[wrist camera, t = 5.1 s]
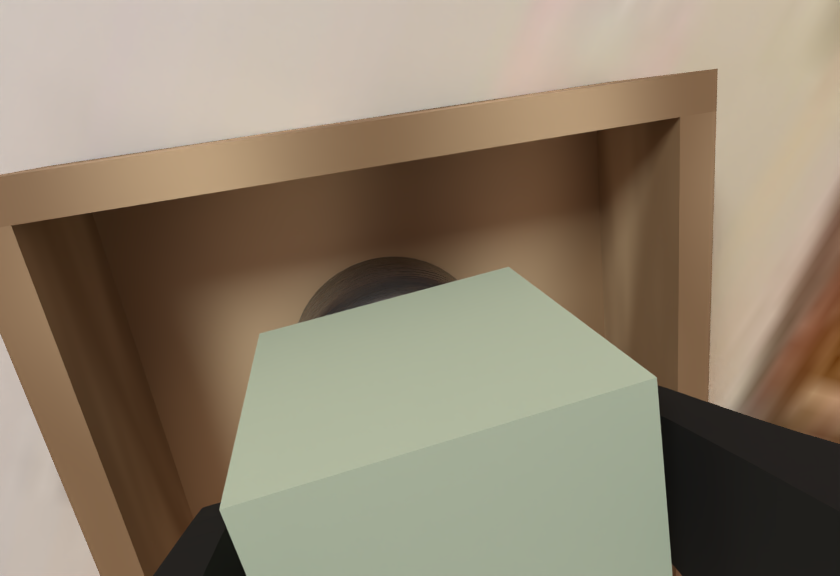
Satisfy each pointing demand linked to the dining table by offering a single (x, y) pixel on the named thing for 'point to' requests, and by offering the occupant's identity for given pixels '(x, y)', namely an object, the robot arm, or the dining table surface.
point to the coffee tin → (373, 284)
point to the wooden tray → (332, 267)
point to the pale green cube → (448, 443)
